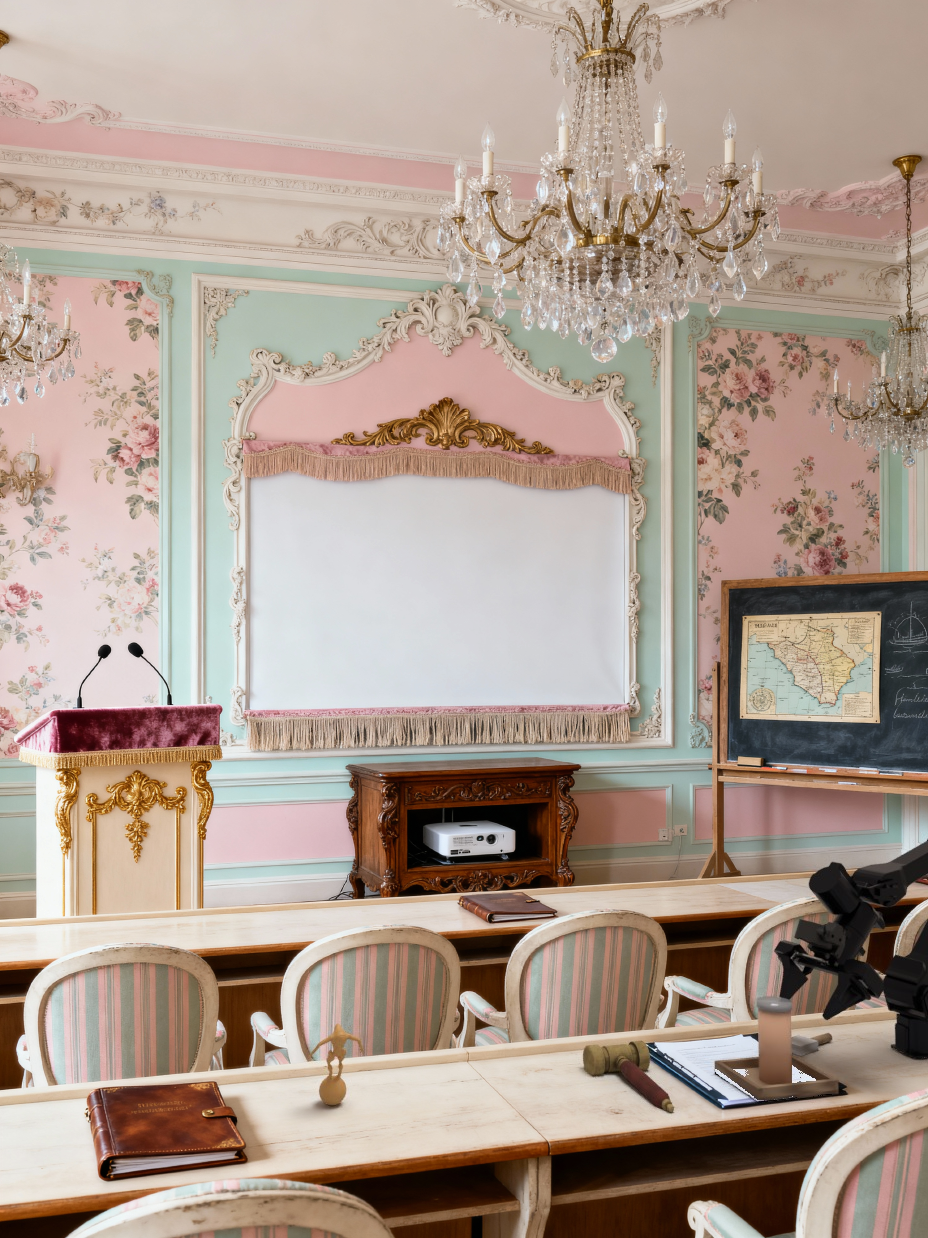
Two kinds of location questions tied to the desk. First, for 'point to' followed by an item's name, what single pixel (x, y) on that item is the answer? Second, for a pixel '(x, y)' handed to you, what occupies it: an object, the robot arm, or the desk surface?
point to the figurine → (334, 1086)
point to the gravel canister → (774, 1040)
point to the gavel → (627, 1068)
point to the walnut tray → (779, 1091)
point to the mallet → (808, 1043)
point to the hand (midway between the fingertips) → (802, 1010)
